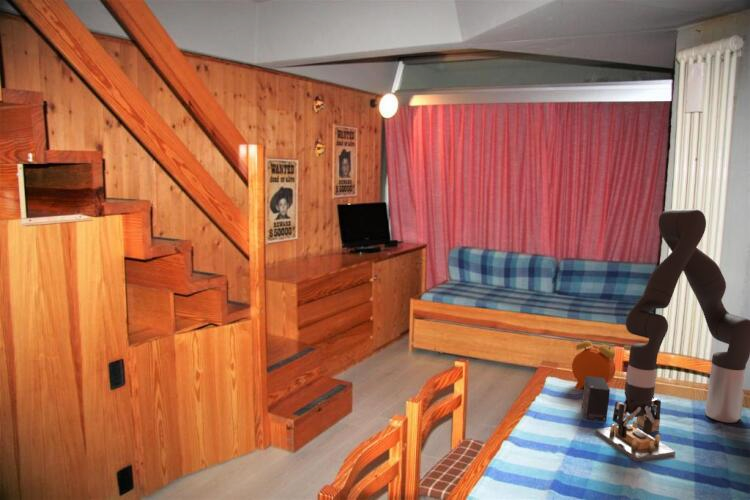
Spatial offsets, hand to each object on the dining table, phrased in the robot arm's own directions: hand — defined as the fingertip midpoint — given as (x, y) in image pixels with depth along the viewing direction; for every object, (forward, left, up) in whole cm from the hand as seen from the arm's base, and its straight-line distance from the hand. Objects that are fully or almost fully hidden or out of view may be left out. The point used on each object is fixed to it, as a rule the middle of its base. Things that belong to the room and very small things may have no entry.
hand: (634, 435), depth 169 cm
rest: (-12, -8, -3) cm, 15 cm away
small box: (-2, -20, -3) cm, 20 cm away
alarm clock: (-14, -37, -3) cm, 40 cm away
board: (0, 0, -1) cm, 1 cm away
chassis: (0, 0, -3) cm, 3 cm away
